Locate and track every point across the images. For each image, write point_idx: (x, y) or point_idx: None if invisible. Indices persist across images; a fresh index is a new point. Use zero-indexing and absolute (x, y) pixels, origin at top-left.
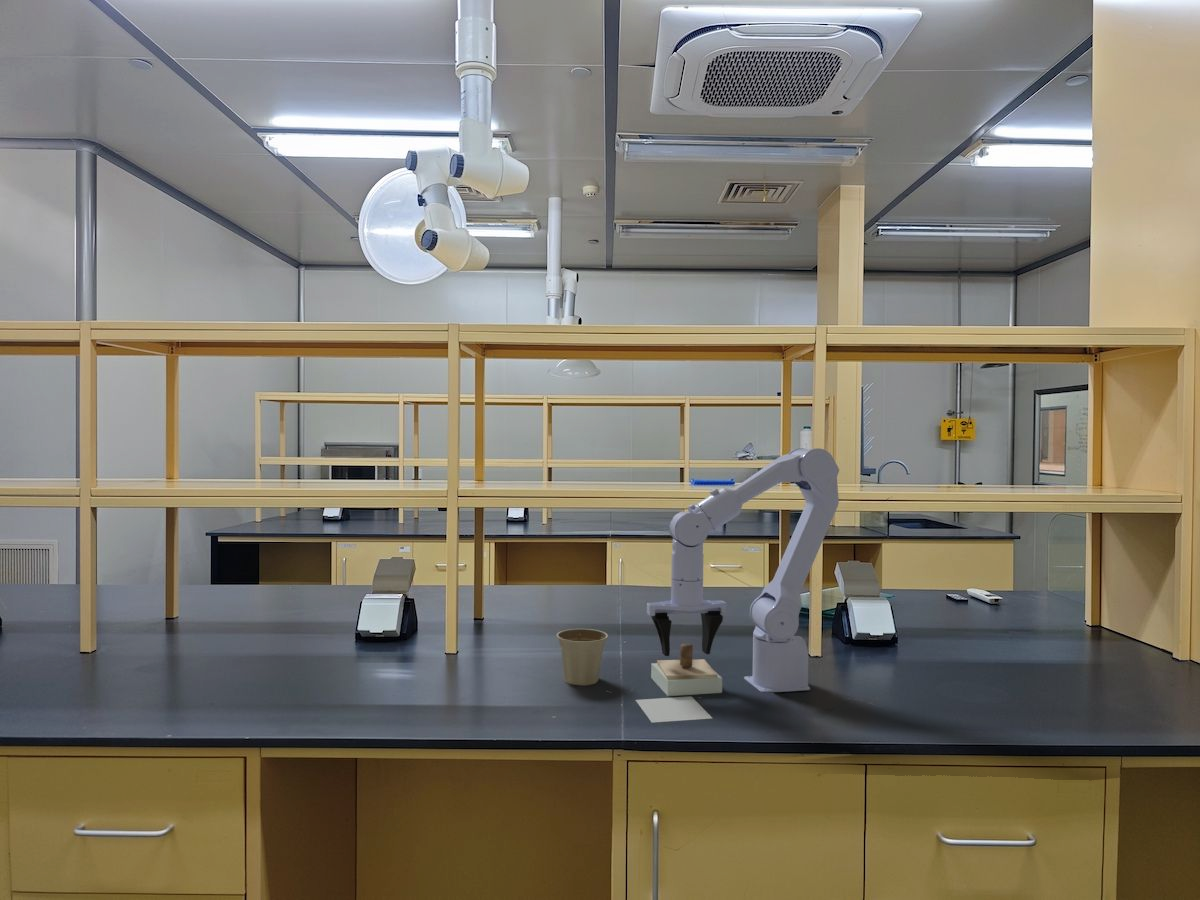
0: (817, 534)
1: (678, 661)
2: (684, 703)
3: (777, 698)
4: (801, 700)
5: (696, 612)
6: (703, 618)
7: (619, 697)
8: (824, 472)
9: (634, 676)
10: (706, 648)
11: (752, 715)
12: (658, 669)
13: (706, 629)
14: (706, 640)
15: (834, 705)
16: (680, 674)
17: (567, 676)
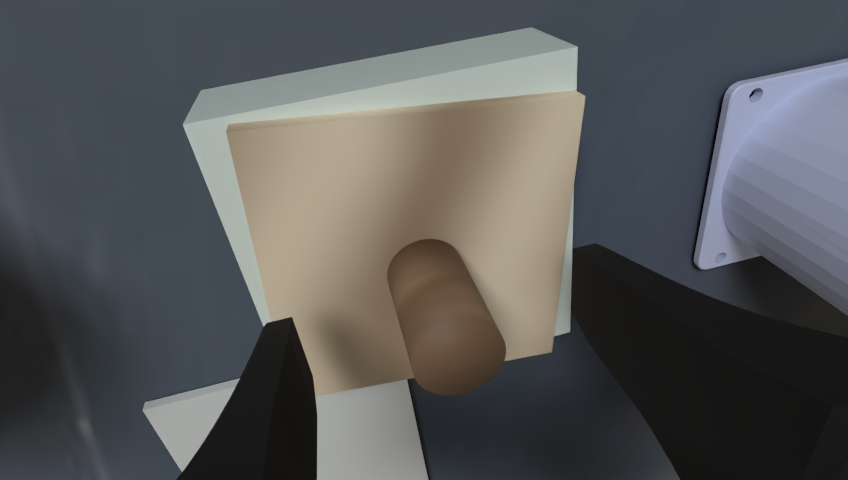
0: None
1: (393, 155)
2: (358, 408)
3: (717, 294)
4: (779, 302)
5: None
6: (764, 437)
7: (51, 363)
8: None
9: (65, 20)
10: (590, 335)
11: (562, 428)
12: (243, 251)
13: (683, 418)
14: (624, 360)
15: (839, 328)
16: (367, 376)
17: None
